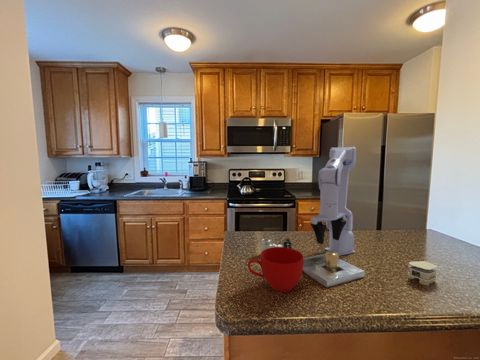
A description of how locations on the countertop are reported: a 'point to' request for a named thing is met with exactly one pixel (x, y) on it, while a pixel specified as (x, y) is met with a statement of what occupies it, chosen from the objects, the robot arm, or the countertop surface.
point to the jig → (317, 271)
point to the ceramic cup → (280, 267)
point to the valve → (267, 244)
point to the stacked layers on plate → (423, 271)
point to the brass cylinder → (331, 261)
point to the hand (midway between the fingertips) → (328, 241)
